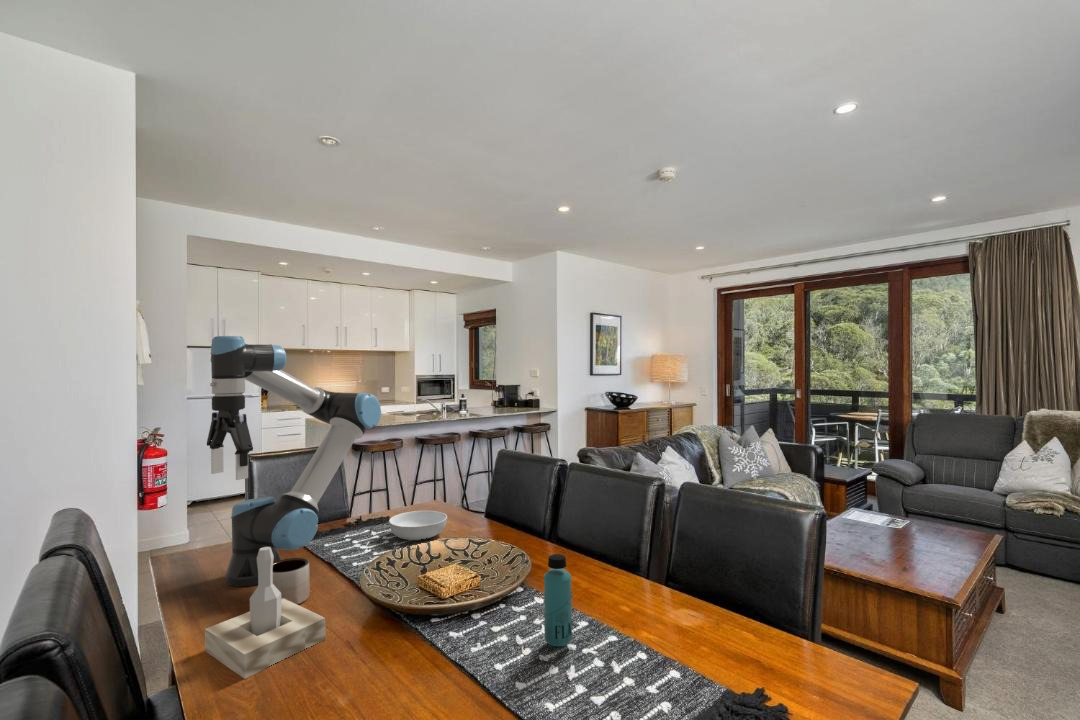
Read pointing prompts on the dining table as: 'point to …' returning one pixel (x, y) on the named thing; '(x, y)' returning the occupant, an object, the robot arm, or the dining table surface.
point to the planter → (292, 579)
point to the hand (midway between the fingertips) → (229, 475)
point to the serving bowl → (418, 524)
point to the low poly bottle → (265, 596)
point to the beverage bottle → (557, 602)
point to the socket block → (263, 639)
